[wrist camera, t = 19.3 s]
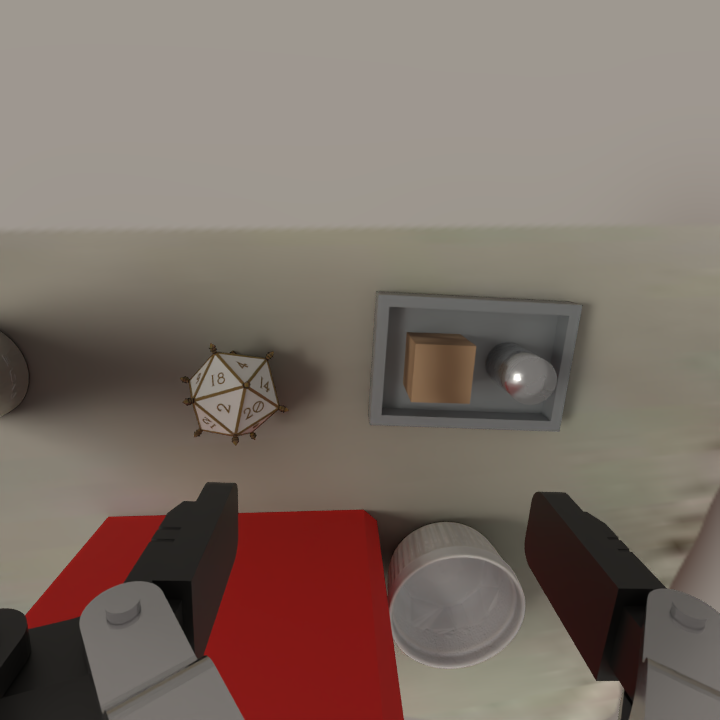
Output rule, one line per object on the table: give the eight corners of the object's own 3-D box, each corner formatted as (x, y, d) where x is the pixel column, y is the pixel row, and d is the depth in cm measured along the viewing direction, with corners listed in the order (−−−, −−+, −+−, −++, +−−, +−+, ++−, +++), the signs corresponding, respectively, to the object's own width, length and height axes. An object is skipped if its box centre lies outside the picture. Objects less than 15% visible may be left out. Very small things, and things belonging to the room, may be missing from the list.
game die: (256, 351, 45) (288, 322, 37) (277, 433, 44) (315, 423, 36) (162, 368, 41) (173, 340, 32) (183, 460, 40) (200, 455, 31)
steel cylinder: (482, 381, 42) (505, 403, 37) (488, 341, 41) (512, 356, 36) (523, 384, 43) (552, 405, 37) (530, 343, 42) (560, 359, 36)
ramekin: (523, 537, 48) (553, 586, 41) (463, 628, 51) (482, 687, 44) (416, 491, 46) (429, 533, 39) (359, 588, 49) (362, 644, 42)
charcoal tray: (368, 414, 43) (369, 424, 41) (376, 291, 40) (378, 294, 38) (547, 421, 44) (559, 431, 42) (568, 301, 41) (582, 305, 39)
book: (119, 583, 47) (-303, 1235, 16) (108, 516, 45) (-399, 1117, 14) (376, 574, 48) (442, 1165, 17) (376, 509, 46) (453, 1047, 15)
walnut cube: (402, 383, 42) (411, 402, 37) (406, 332, 41) (415, 344, 36) (454, 385, 42) (469, 403, 38) (460, 334, 41) (476, 346, 36)
